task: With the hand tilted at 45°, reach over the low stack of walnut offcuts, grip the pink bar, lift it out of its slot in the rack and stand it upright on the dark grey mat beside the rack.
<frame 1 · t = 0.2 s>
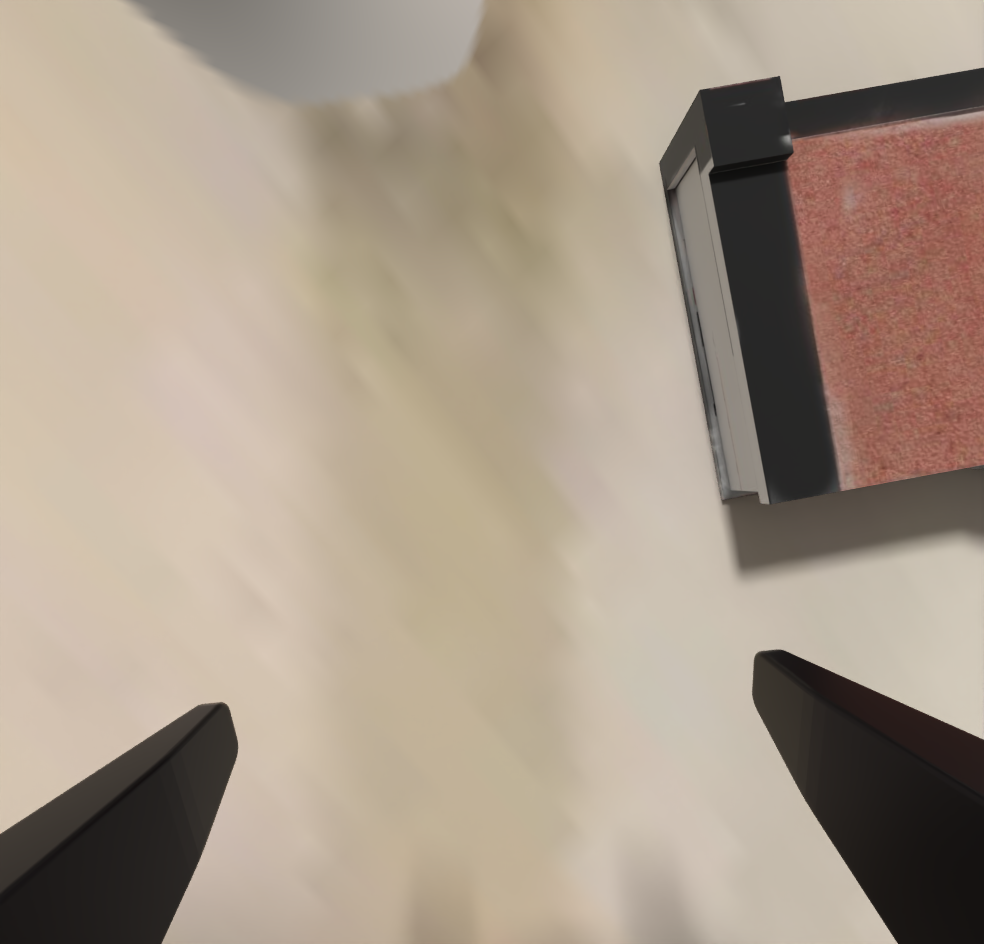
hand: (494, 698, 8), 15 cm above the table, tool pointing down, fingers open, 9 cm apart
book: (939, 296, 25), on the table
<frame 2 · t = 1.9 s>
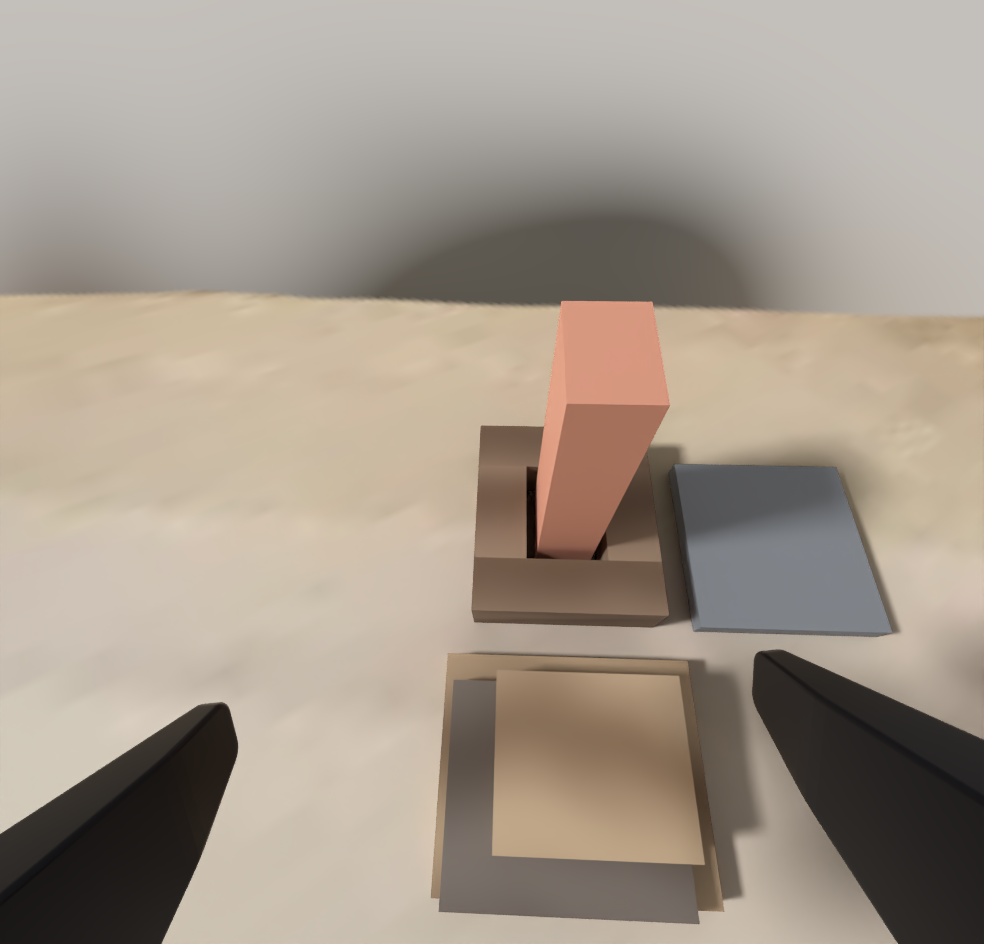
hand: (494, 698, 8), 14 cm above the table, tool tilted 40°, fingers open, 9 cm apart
pink bar: (559, 531, 24), resting in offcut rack
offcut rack: (559, 531, 24), on the table
grey mat: (763, 548, 24), on the table
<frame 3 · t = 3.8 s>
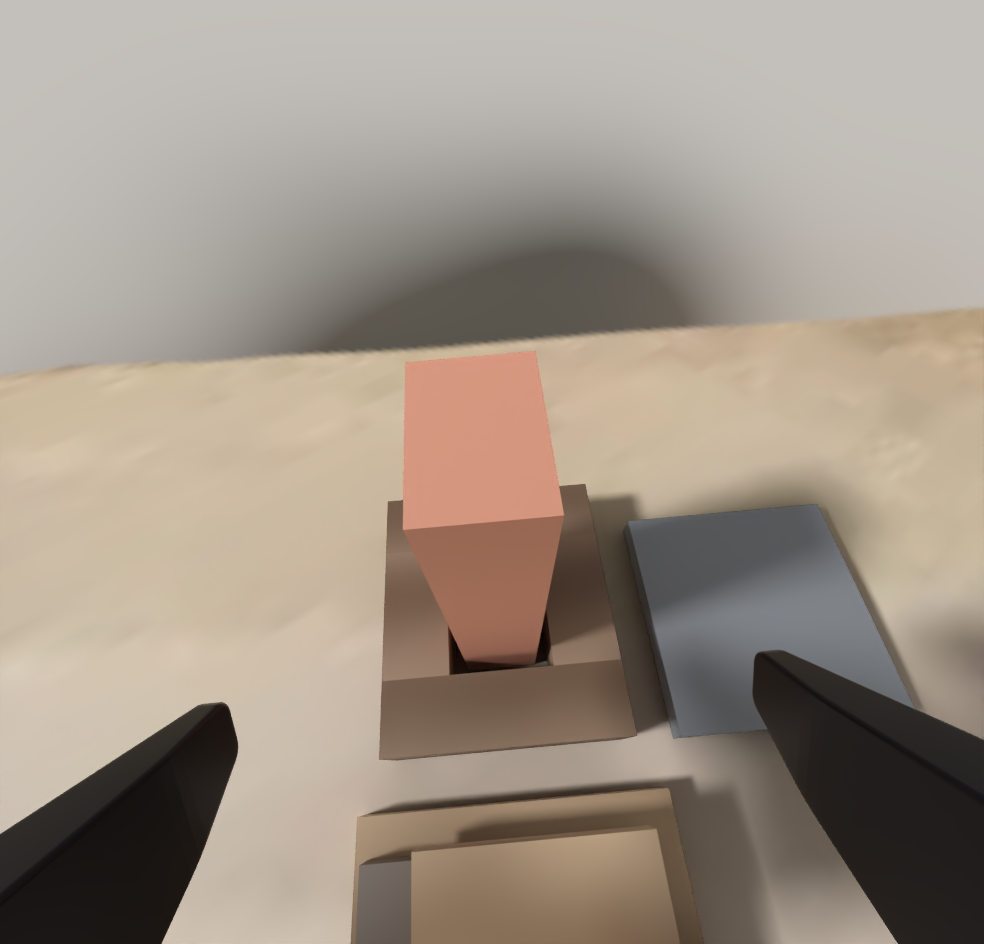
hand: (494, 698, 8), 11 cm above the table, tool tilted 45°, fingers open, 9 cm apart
pink bar: (498, 621, 20), resting in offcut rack
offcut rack: (498, 620, 20), on the table
grey mat: (746, 614, 19), on the table
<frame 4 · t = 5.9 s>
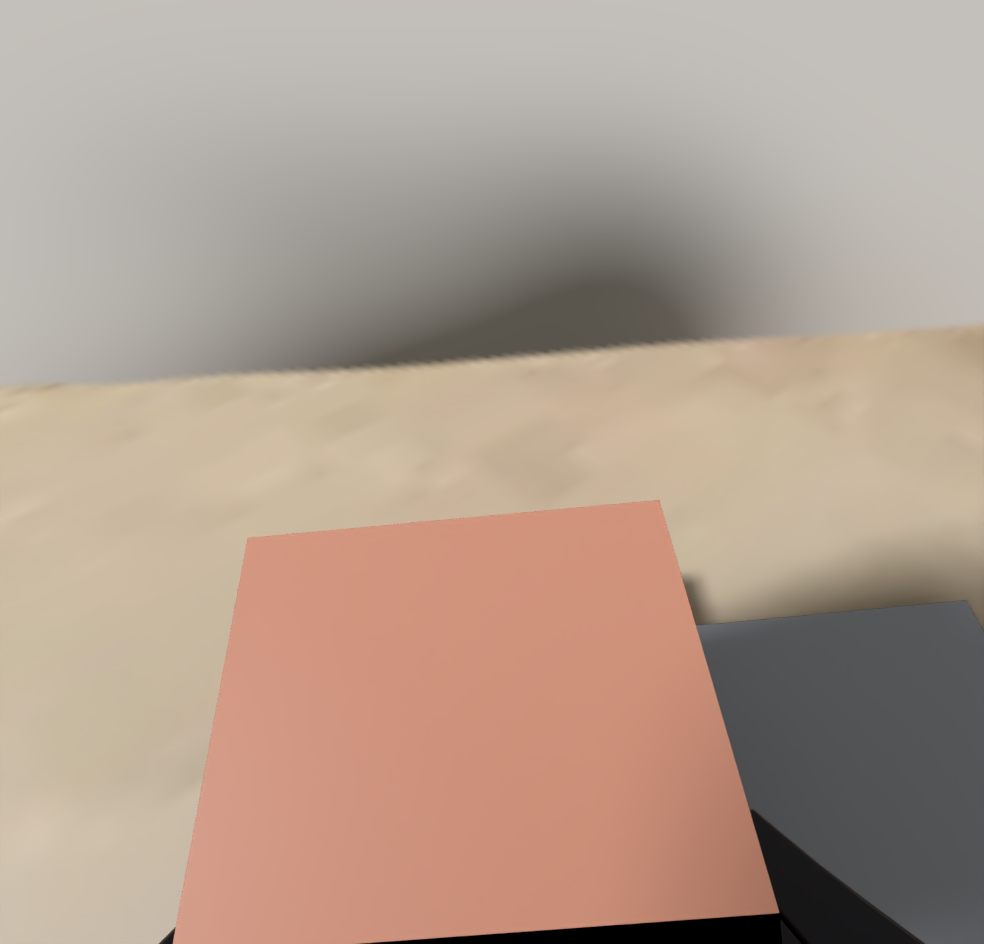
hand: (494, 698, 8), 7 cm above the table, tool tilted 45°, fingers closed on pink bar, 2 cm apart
pink bar: (506, 781, 13), resting in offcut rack, touching gripper
grey mat: (875, 773, 13), on the table
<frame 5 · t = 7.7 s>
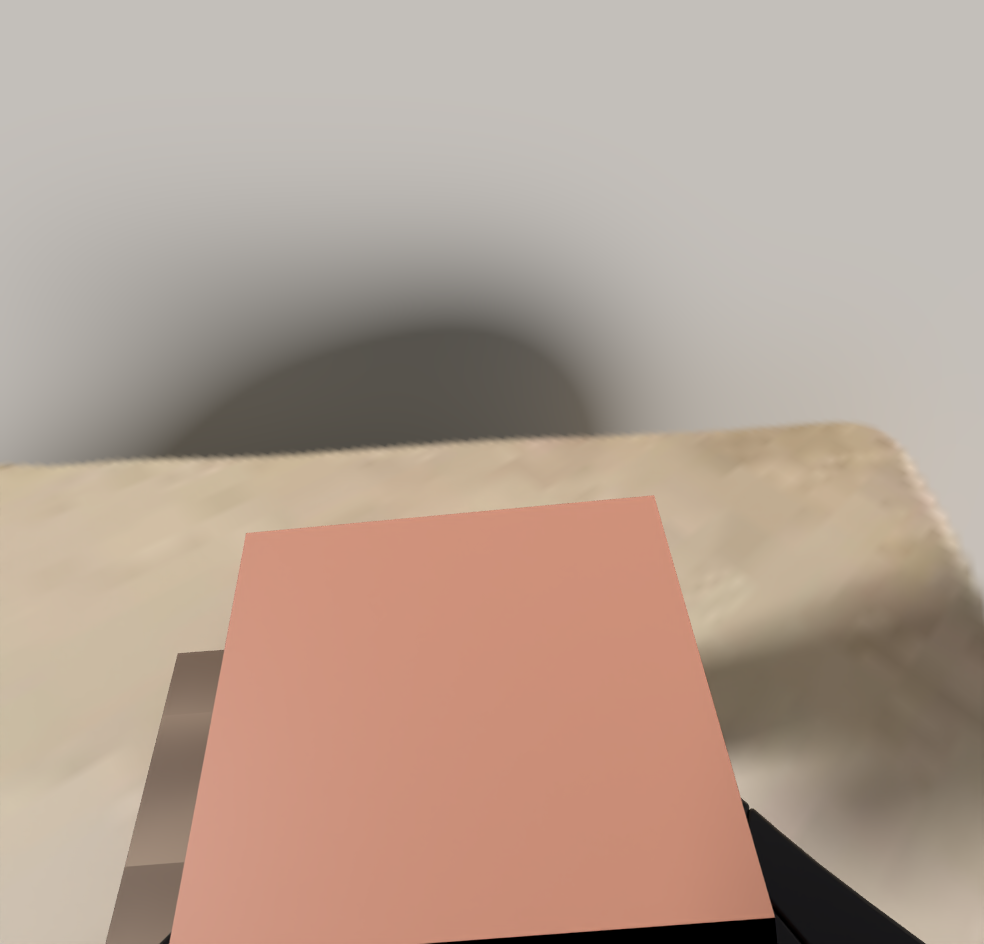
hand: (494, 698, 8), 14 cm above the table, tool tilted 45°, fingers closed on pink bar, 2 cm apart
pink bar: (506, 779, 13), point 7 cm above the table, touching gripper
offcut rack: (285, 775, 20), on the table
when the fingers open (8 cm above the table, at t = 9.5 s): pink bar stays where it is, resting on grey mat.
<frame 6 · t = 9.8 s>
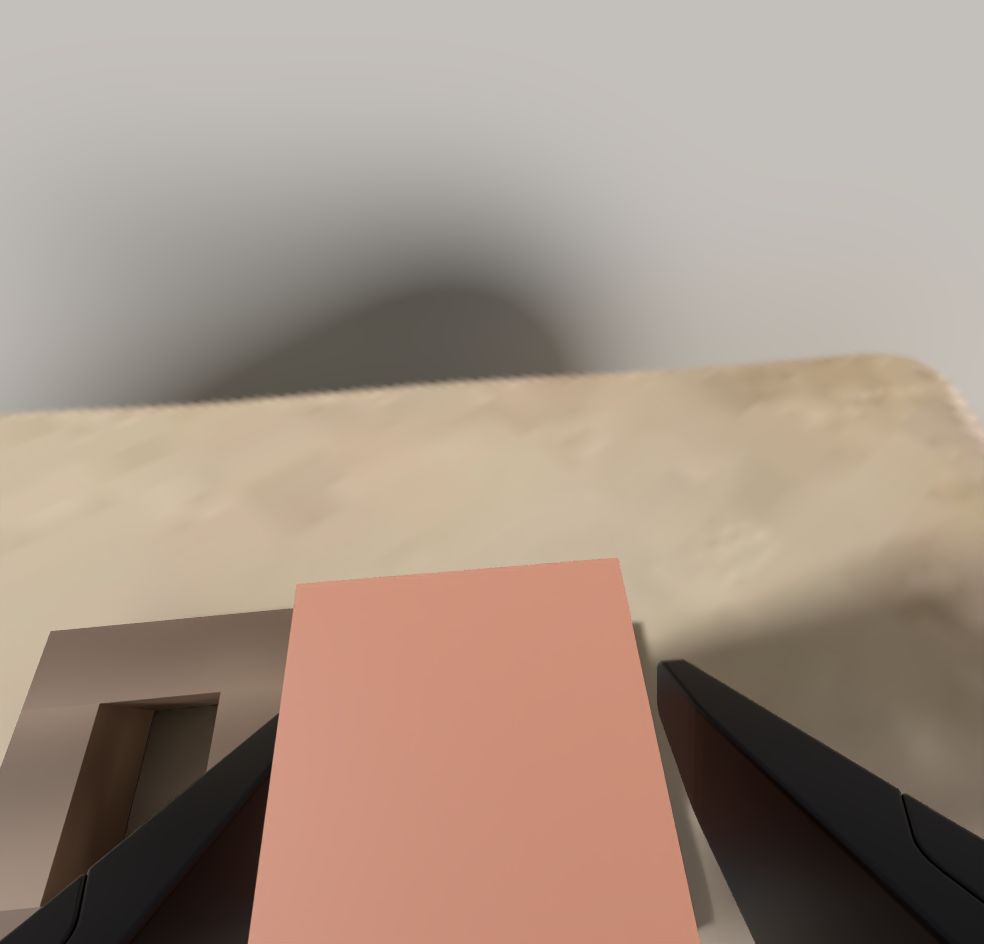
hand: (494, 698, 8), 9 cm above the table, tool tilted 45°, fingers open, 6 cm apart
pink bar: (505, 779, 14), point 1 cm above the table, touching grey mat
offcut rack: (191, 785, 15), on the table
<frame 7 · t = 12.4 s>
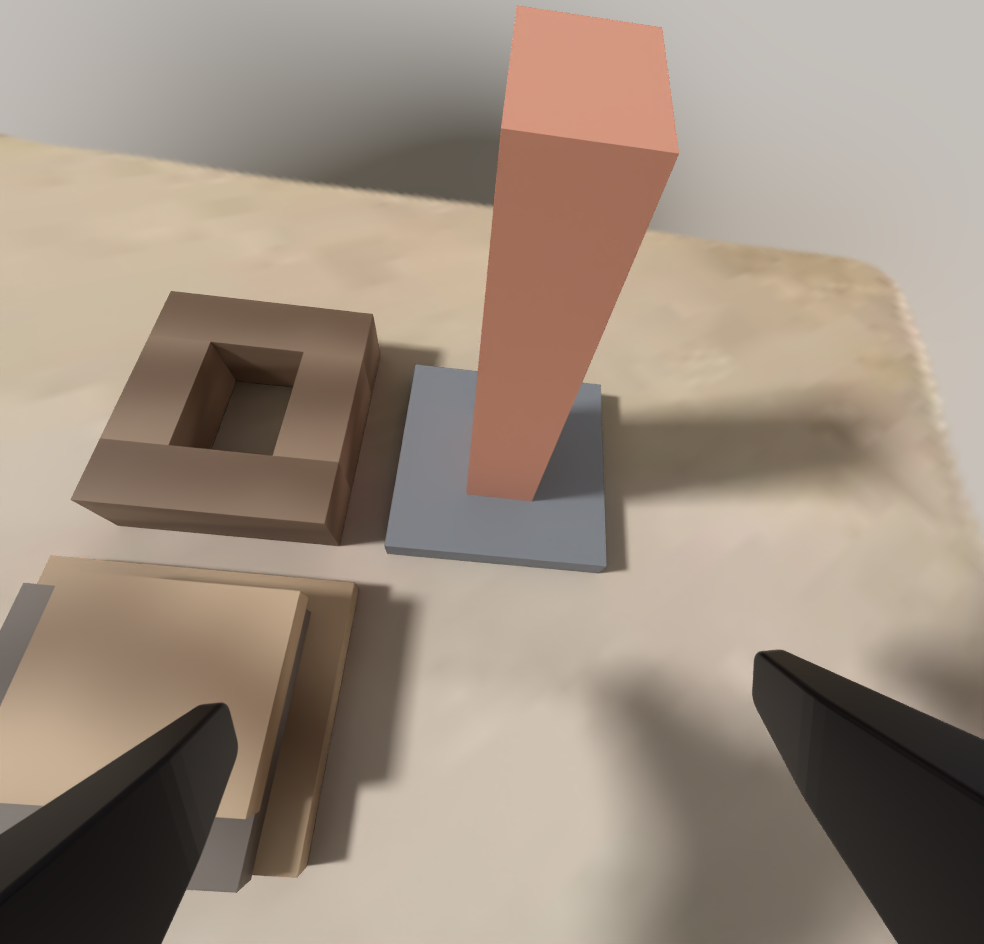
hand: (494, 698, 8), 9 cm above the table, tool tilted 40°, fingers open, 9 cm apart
pink bar: (502, 456, 19), point 1 cm above the table, touching grey mat
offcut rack: (263, 430, 20), on the table
grey mat: (500, 468, 20), on the table
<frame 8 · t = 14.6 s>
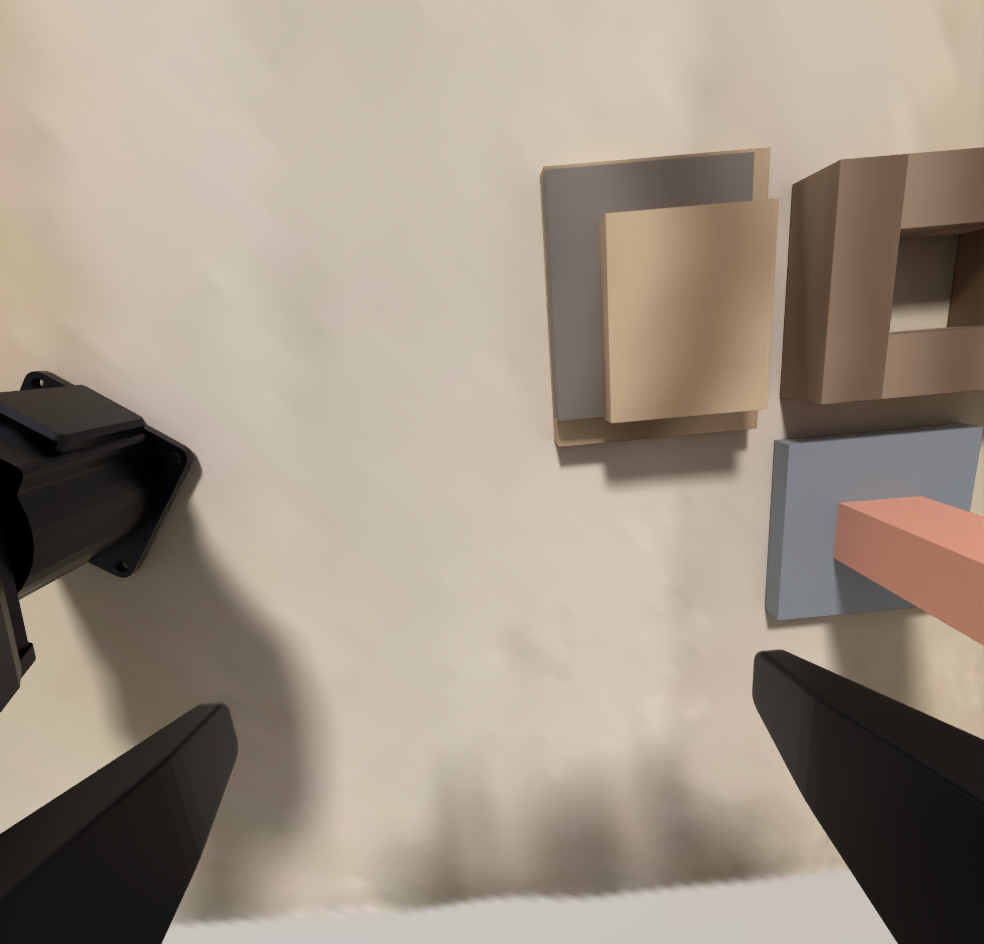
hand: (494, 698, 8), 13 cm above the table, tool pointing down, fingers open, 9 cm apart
pink bar: (876, 527, 21), point 1 cm above the table, touching grey mat
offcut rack: (898, 286, 19), on the table
grey mat: (858, 520, 22), on the table
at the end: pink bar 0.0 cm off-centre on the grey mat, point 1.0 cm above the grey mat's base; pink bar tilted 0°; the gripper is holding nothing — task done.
